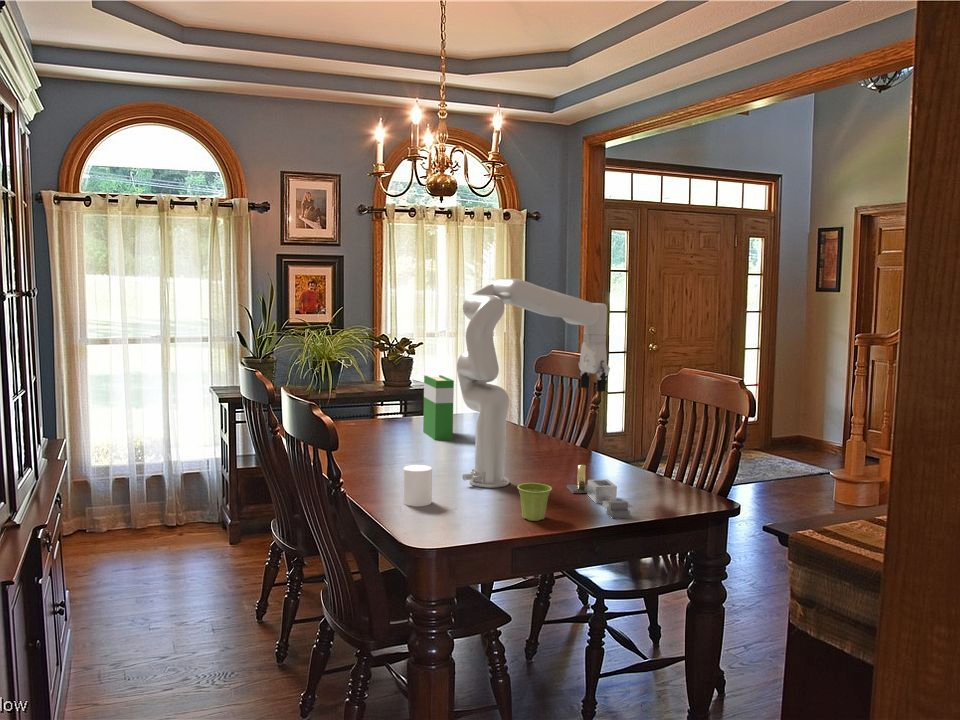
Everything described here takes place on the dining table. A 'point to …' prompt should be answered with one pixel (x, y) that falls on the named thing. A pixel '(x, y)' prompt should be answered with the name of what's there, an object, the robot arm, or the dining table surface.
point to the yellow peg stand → (579, 481)
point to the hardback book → (438, 407)
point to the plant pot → (534, 500)
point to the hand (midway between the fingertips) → (592, 389)
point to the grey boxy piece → (618, 509)
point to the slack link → (605, 504)
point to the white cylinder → (417, 485)
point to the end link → (601, 490)
